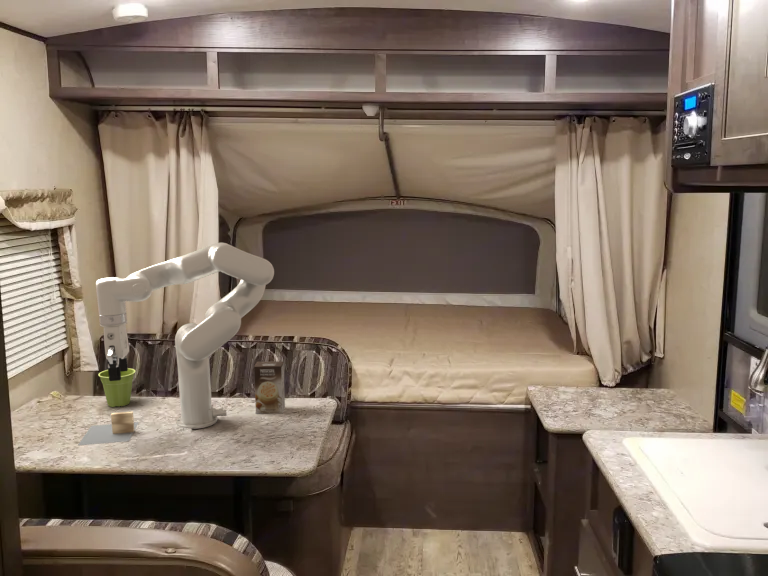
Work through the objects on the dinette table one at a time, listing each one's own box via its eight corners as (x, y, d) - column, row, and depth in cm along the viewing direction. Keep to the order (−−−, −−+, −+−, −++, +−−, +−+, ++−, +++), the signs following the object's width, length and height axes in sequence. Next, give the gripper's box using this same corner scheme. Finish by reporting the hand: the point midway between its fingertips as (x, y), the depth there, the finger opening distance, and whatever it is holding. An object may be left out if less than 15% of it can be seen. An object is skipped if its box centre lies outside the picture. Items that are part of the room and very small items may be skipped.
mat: (138, 423, 207) (138, 422, 207) (129, 443, 192) (129, 441, 192) (91, 427, 205) (91, 425, 205) (77, 447, 189) (77, 445, 189)
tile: (134, 430, 200) (133, 411, 199) (133, 432, 199) (132, 412, 198) (113, 431, 199) (112, 412, 198) (112, 433, 198) (111, 414, 197)
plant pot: (124, 410, 220) (121, 378, 218) (93, 408, 222) (90, 376, 221) (144, 399, 231) (142, 368, 229) (114, 397, 234) (112, 366, 232)
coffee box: (254, 414, 214) (252, 366, 212) (258, 407, 221) (256, 361, 218) (283, 413, 214) (281, 366, 212) (285, 407, 221) (283, 360, 218)
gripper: (120, 324, 186) (126, 383, 188) (132, 313, 202) (137, 366, 205) (92, 326, 184) (98, 385, 187) (106, 314, 201) (112, 368, 204)
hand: (118, 375), depth 196 cm, fingers open, 9 cm apart
